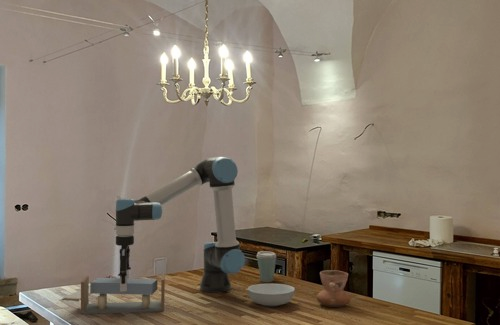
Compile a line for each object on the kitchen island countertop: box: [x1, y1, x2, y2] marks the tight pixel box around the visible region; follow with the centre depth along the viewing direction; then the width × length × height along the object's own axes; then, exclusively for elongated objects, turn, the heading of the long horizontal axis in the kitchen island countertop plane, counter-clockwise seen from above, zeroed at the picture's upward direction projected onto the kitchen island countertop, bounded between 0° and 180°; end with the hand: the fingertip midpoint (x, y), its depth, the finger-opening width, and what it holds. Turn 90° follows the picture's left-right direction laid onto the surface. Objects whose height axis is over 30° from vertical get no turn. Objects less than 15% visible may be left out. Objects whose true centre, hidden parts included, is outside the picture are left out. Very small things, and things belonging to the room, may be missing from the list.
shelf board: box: [89, 277, 158, 296], centre depth 217 cm, size 9×26×4 cm, turn 86°
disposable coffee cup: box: [256, 250, 277, 283], centre depth 271 cm, size 11×11×15 cm
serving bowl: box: [247, 283, 296, 307], centre depth 227 cm, size 21×21×7 cm
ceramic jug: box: [316, 269, 351, 308], centre depth 226 cm, size 18×14×14 cm
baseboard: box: [61, 285, 94, 302], centre depth 245 cm, size 30×3×10 cm
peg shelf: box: [80, 273, 166, 315], centre depth 217 cm, size 12×33×13 cm, turn 99°
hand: (124, 288), depth 217 cm, fingers closed on shelf board, 10 cm apart
